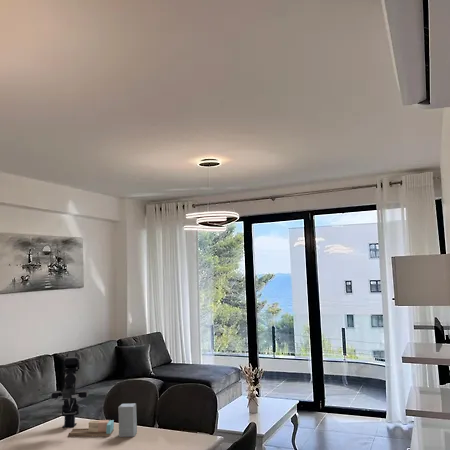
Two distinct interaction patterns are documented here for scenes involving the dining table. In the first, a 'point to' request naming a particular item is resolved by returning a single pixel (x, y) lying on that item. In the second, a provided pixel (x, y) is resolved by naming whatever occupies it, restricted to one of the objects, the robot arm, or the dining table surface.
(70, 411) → the robot arm
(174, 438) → the dining table surface
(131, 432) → the skincare box
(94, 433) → the channel
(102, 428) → the block
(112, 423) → the teal end stop
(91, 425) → the beige slanted block
